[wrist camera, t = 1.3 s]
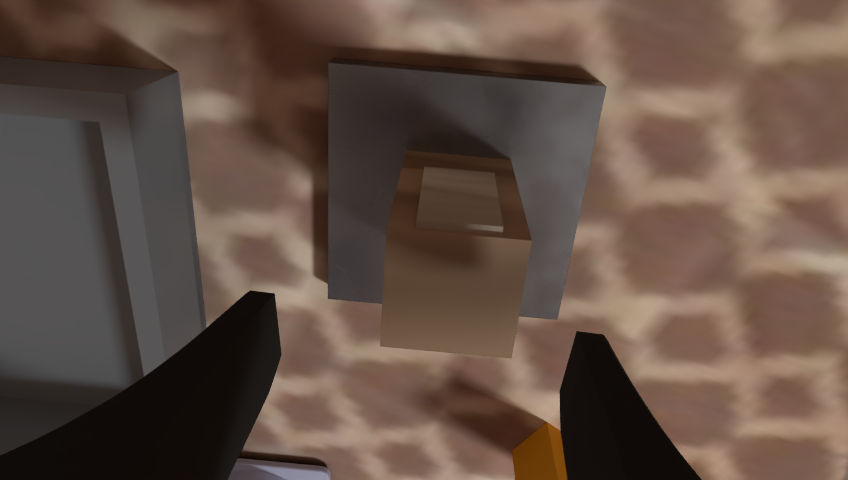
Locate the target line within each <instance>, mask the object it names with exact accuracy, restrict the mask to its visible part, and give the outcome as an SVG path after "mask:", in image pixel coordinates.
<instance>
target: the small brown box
mask: <svg viewBox="0 0 848 480" xmlns="http://www.w3.org/2000/svg"><path fill="white" fill-rule="evenodd" d="M531 244H532V239H531V235H530V231H529V227H528V223H527V220H526V216H525V212H524V208H523V204H522V200H521V196H520V193H519V189H518V185H517V181H516V177H515V173H514V170H513V166H512V162H511V160H510V159H499V158H487V157H476V156H465V155H453V154H442V153H431V152H419V151H408V150H406V154H405V157H404V161H403V165H402V169H401V173H400V177H399V181H398V184H397V188H396V192H395V196H394V200H393V204H392V208H391V211H390V215H389V219H388V223H387V227H386V243H385V263H384V283H383V302H382V322H381V342H380V346H382V347H393V348H404V349H415V350H426V351H436V352H447V353H458V354H469V355H480V356H491V357H501V358H512V352H513V346H514V341H515V335H516V329H517V324H518V318H519V312H520V307H521V301H522V295H523V289H524V284H525V278H526V272H527V267H528V261H529V255H530V250H531Z"/></svg>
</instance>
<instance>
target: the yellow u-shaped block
mask: <svg viewBox="0 0 848 480" xmlns="http://www.w3.org/2000/svg"><path fill="white" fill-rule="evenodd" d="M512 454H513V463H514V472H515V480H567V473H566V467H565V460H564V452H563V445H562V438H561V431H559V430H558V429H557V428H555V427H554V426H552V425H551V424H549V423H548V422H546V423H545V424H544V425H543V426H542V427H540V428H539V429H538V430H537V431H535V432H534V433H533V434H532V435H530V436H529V437H528V438H527V439H526V440H524V441H523V442H522V443H521V444H519V445H518V446H517V447H516V448H515V449H513V450H512Z"/></svg>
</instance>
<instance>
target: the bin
mask: <svg viewBox="0 0 848 480" xmlns="http://www.w3.org/2000/svg"><path fill="white" fill-rule="evenodd" d="M205 329H206V320H205V311H204V302H203V292H202V283H201V274H200V265H199V256H198V247H197V238H196V229H195V220H194V211H193V202H192V193H191V184H190V175H189V166H188V157H187V148H186V139H185V130H184V120H183V111H182V102H181V93H180V84H179V75H178V72H174V71H162V70H151V69H139V68H128V67H116V66H105V65H93V64H82V63H70V62H58V61H47V60H35V59H24V58H12V57H1V56H0V455H2V454H4V453H7V452H9V451H11V450H13V449H15V448H18V447H20V446H22V445H24V444H26V443H28V442H30V441H33V440H35V439H37V438H39V437H41V436H43V435H45V434H47V433H49V432H51V431H53V430H55V429H57V428H59V427H61V426H63V425H65V424H66V423H68V422H70V421H72V420H74V419H75V418H77V417H79V416H81V415H83V414H84V413H86V412H88V411H90V410H92V409H93V408H95V407H97V406H99V405H101V404H102V403H104V402H106V401H107V400H109V399H111V398H112V397H114V396H115V395H117V394H119V393H120V392H122V391H123V390H125V389H126V388H128V387H130V386H131V385H133V384H134V383H136V382H137V381H138V380H140V379H141V378H143V377H144V376H146V375H147V374H148V373H150V372H151V371H153V370H154V369H155V368H157V367H158V366H159V365H161V364H162V363H163V362H165V361H166V360H167V359H168V358H170V357H171V356H172V355H174V354H175V353H176V352H178V351H179V350H180V349H182V348H183V347H184V346H185V345H186V344H188V343H189V342H190V341H191V340H193V339H194V338H195V337H196V336H197V335H199V334H200V333H201V332H202V331H203V330H205Z"/></svg>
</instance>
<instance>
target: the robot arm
mask: <svg viewBox="0 0 848 480" xmlns="http://www.w3.org/2000/svg"><path fill="white" fill-rule="evenodd" d="M280 357H281V346H280V337H279V328H278V319H277V311H276V302H275V294H274V293H266V292H258V291H249V292H248V293H246V294H245V295H244V296H243V297H242V298H240V299H239V300H238V301H237V302H236V303H235V304H233V305H232V306H231V307H230V308H229V309H228V310H227V311H225V312H224V313H223V314H222V315H221V316H220V317H219V318H217V319H216V320H215V321H214V322H213V323H212V324H211V325H209V326H208V327H207V328H206V329H205V330H203V331H202V332H201V333H200V334H199V335H197V336H196V337H195V338H194V339H193V340H191V341H190V342H189V343H188V344H186V345H185V346H184V347H183V348H182V349H180V350H179V351H178V352H176V353H175V354H174V355H172V356H171V357H170V358H168V359H167V360H166V361H165V362H163V363H162V364H161V365H159V366H158V367H157V368H155V369H154V370H153V371H151V372H150V373H148V374H147V375H146V376H144V377H143V378H141V379H140V380H138V381H137V382H136V383H134V384H133V385H131V386H130V387H128V388H126V389H125V390H123V391H122V392H120V393H119V394H117V395H115V396H114V397H112V398H111V399H109V400H107V401H106V402H104V403H102V404H101V405H99V406H97V407H95V408H93V409H92V410H90V411H88V412H86V413H84V414H83V415H81V416H79V417H77V418H75V419H74V420H72V421H70V422H68V423H66V424H65V425H63V426H61V427H59V428H57V429H55V430H53V431H51V432H49V433H47V434H45V435H43V436H41V437H39V438H37V439H35V440H33V441H30V442H28V443H26V444H24V445H22V446H20V447H18V448H15V449H13V450H11V451H9V452H7V453H4V454H2V455H0V480H330V471H329V470H328V469H327V468H326V467H323V466H316V465H305V464H295V463H284V462H274V461H263V460H253V459H242V458H238V457H239V455H240V453H241V451H242V449H243V446H244V444H245V442H246V440H247V438H248V436H249V434H250V432H251V430H252V428H253V426H254V423H255V421H256V419H257V417H258V415H259V413H260V411H261V409H262V406H263V404H264V402H265V400H266V398H267V396H268V394H269V391H270V388H271V385H272V382H273V379H274V376H275V373H276V370H277V367H278V364H279V361H280ZM560 425H561V438H562V445H563V452H564V460H565V467H566V473H567V480H702V479H701V478H700V477H699V476H698V475H697V474H696V472H695V471H694V470H693V469H692V468H691V466H690V465H689V464H688V463H687V461H686V460H685V459H684V458H683V456H682V455H681V454H680V452H679V451H678V450H677V449H676V447H675V446H674V445H673V443H672V442H671V440H670V439H669V438H668V436H667V435H666V434H665V432H664V431H663V429H662V428H661V427H660V425H659V424H658V422H657V421H656V419H655V418H654V417H653V415H652V414H651V412H650V410H649V409H648V407H647V406H646V404H645V403H644V401H643V400H642V398H641V397H640V395H639V394H638V392H637V390H636V389H635V387H634V386H633V384H632V382H631V381H630V379H629V377H628V376H627V374H626V372H625V371H624V369H623V367H622V365H621V364H620V362H619V360H618V358H617V357H616V355H615V353H614V351H613V349H612V348H611V346H610V344H609V342H608V340H607V339H606V337H605V336H604V335H602V334H594V333H586V332H578V331H577V332H576V336H575V339H574V343H573V346H572V350H571V353H570V357H569V360H568V364H567V367H566V371H565V374H564V378H563V382H562V385H561V389H560Z"/></svg>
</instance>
